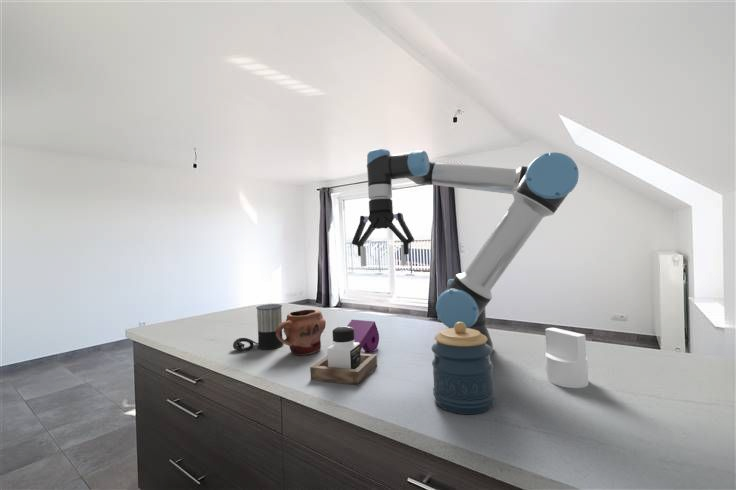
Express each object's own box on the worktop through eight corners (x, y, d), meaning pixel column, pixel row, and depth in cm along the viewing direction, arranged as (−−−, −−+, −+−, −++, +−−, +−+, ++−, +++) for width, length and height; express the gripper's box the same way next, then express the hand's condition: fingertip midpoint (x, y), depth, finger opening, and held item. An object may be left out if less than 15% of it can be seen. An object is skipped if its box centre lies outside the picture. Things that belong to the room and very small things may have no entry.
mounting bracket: (356, 380, 106) (381, 340, 119) (348, 359, 103) (374, 321, 116) (332, 375, 111) (358, 338, 124) (324, 355, 108) (352, 319, 121)
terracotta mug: (292, 365, 104) (290, 319, 104) (266, 358, 111) (265, 316, 111) (335, 347, 121) (333, 308, 121) (310, 342, 128) (308, 305, 128)
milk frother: (289, 344, 127) (287, 304, 127) (253, 357, 114) (251, 312, 114) (264, 340, 135) (262, 302, 135) (228, 351, 122) (226, 309, 122)
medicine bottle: (351, 376, 92) (349, 331, 92) (327, 374, 94) (325, 330, 94) (361, 367, 98) (359, 325, 98) (338, 365, 101) (337, 324, 101)
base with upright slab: (538, 377, 87) (535, 330, 87) (562, 371, 90) (560, 325, 90) (571, 391, 78) (569, 338, 78) (597, 383, 82) (594, 333, 82)
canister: (490, 390, 81) (487, 315, 81) (498, 418, 68) (494, 329, 68) (434, 387, 84) (431, 315, 84) (432, 413, 71) (428, 328, 71)
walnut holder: (377, 366, 100) (376, 354, 100) (358, 385, 87) (358, 371, 87) (334, 362, 105) (333, 351, 105) (310, 379, 92) (310, 367, 92)
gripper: (421, 197, 108) (424, 264, 108) (349, 203, 117) (352, 265, 117) (416, 194, 101) (419, 265, 101) (340, 201, 110) (343, 267, 110)
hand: (383, 265), depth 109 cm, fingers open, 13 cm apart
